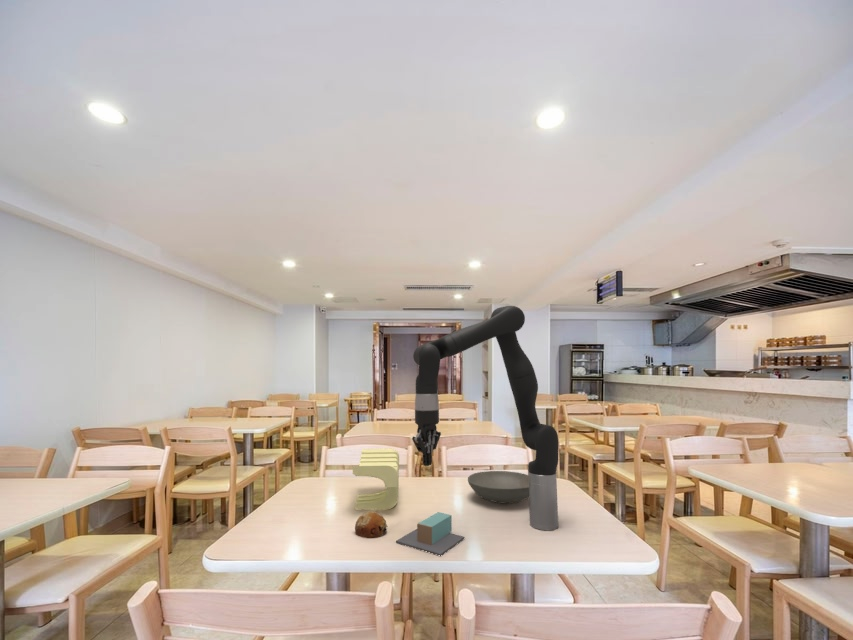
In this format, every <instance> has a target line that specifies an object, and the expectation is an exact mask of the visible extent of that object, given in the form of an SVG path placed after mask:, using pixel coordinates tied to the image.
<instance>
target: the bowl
mask: <svg viewBox="0 0 853 640" xmlns="http://www.w3.org/2000/svg"><path fill="white" fill-rule="evenodd" d="M467 483H468V485H469V486H470V488H471V489H472V490H473V492H474V493H475V494H477V495H478V496H479V497H480V498H482V499H484V500H486V501H491V502H494V503H498V504H499V503H500V504H515V503H519V502H521V501H524V500H526V499H529V480H528V474H526V473H522V472H517V471H516V472H515V471H507V470H489V471H479V472H475V473H472V474H470V475H469V476H468V477H467Z"/></svg>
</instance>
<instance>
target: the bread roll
mask: <svg viewBox="0 0 853 640" xmlns="http://www.w3.org/2000/svg"><path fill="white" fill-rule="evenodd" d="M354 524H355V526H354V531H355V534H356V535H357V536H358V537H362V538H367V539H376V538H379V537H382V536H383V535H385V534H386V533H387V528H388V527H389V526H388V524H387V520H386V519H385V518H384V516H382V514H380V513H379V512H377V511H373V510H369V511H367V512H365V513H363V514H362V515H360V516H359V517H358V518H357V520H356V522H355V523H354Z"/></svg>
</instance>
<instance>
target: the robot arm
mask: <svg viewBox="0 0 853 640" xmlns="http://www.w3.org/2000/svg"><path fill="white" fill-rule="evenodd" d="M525 318H526V316H525V313H524V312H523V310H522V309H521V308H520V307H518V306H516V305H505V306H501V307H496V308H495V309H494V310H493V311H492V312H491V315H490V318H487V319H485V320H483V321H480V322H478V323H475V324H471V325H469V326H466V327H463V328H459V329H458V330H456V331H452V332H450V333H447V334H446V335H443V336H442V337H440V338H437V339H435V340H432V341H429V342H425V343H423V344H421V345H418V346H417V347H416V348H415V349H414V351H413V355H412V356H413V360H414V362H415V364H417V365H418V375H417V376H416V378H415V395H414V396H415V398H414V423H415V424H416V425H417V429H416V433H417V434H416V435H415V436H412V438H411V440H412V442H413V443H414V446H415V448H416V449H417V451H418V452H419V453H422V465H423V466H426V467H429V466H431V465H432V460H433V459H432V456H433V455H432V454H433V452H434V450H436V449H437V447H438V444H439V440H440V438H441V435H442V433H441V431H438V430H437V428H438V427H437V424H439V423H440V412H439V411H440V406H439V405H440V403H439V401H440V399H439V383H438V379H439V375H440V374H439V373H440V368H441V360H443V359H445V358H448V357H453V356H456V355H457V354H461V353H462V352H465V351H467V350H469V349H471V348H473V347H476V346H477V345H479V344H482V343H484V342H487V341H489V340H490V339H493V338H495V339H496V340H497V343H498V346H499V349H500V353H501V356H502V361H503V364H504V367H505V370H506V375H507V378H508V383H509V386H510V389H511V393H512V395H513V399H514V403H515V407H516V411H517V414H518V420H519V425H520V433H521V437H522V441H523V444H525V446H526V447H527V448H528V449H531V450H533V451H535V459H534V460H531V461H529V462H528V465H527V475H528V480H529V497H528V507H529V508H528V510H529V525H530V526H531V527H532V528H534V529H537V530H541V531H554V530H556V529H558V528H559V509H558V508H559V506H558V504H559V503H558V483H557V482H558V481H557V468H558V465H559V435H558V432H557V430H556V429H555V427H553V426H552V425H548V424H544V423H541V422H540V419H539V417H538V416H539V415H538V413H537V410H536V409H537V408H536V402H537V397H538V390H539V384H538V383H539V382H538V379H537V376H536V372H535V368H534V366H533V364H532V362H531V361H530V359H529V357H528V356H527V354H526V353H525V351H524V350H523V349H522V346H521V345H520V343H519V340H518V337H517V332H518V331H520V330H521V329H522V328H523V326H524V325H525V321H526V319H525Z"/></svg>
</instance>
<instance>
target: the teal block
mask: <svg viewBox="0 0 853 640" xmlns="http://www.w3.org/2000/svg"><path fill="white" fill-rule="evenodd" d="M452 524H453V523H452V515H451V514H449V513H444V512H440V511H437V512H436V513H433V514H432V515H430V516H429V517H427V518H425V519H423V520H421V521H420V522H417V525H416V529H417V541H418V542H422V543H425V544H429V545H432V544H434V543H435V542H437V541H438V540H440V539H441V538H443V537H444V536H446V535H447V534H449V533H451V532H453V531H452V530H453V529H452V526H453V525H452Z"/></svg>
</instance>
